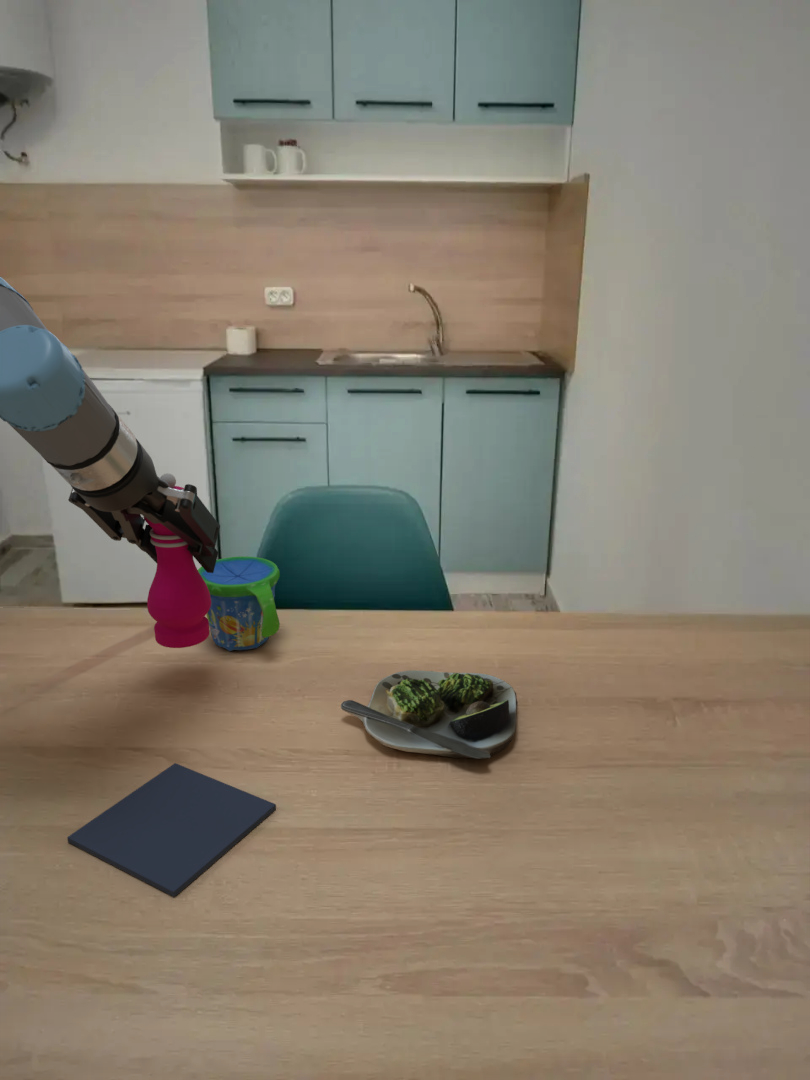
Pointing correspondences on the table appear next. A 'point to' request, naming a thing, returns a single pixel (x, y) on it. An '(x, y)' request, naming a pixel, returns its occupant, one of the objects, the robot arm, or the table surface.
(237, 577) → the snack cup
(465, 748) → the salad plate
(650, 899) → the table surface
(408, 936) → the table surface
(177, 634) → the pepper mill
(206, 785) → the placemat
